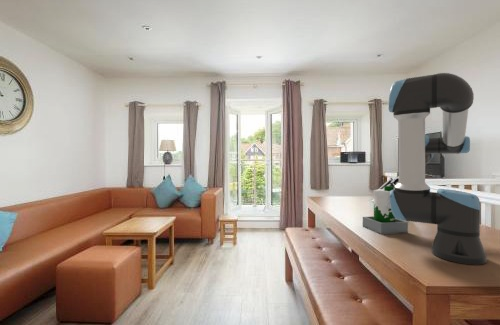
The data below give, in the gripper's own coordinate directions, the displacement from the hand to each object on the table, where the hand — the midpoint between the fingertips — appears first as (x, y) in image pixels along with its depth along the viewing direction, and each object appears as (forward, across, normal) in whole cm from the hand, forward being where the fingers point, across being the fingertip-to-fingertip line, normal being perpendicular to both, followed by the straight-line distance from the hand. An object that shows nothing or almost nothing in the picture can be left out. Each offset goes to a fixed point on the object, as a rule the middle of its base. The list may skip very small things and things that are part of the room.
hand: (380, 204), depth 125 cm
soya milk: (+6, 0, -9) cm, 11 cm away
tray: (+7, 0, -10) cm, 13 cm away
